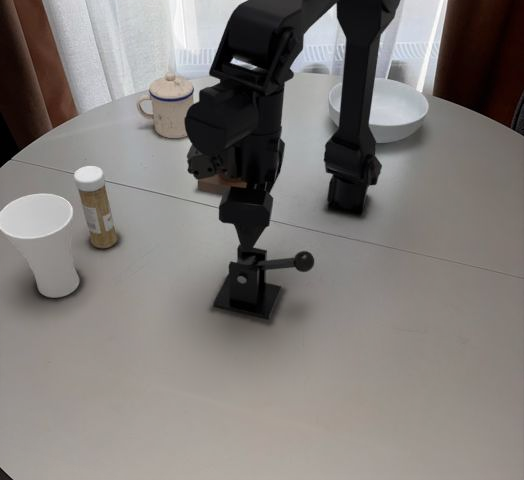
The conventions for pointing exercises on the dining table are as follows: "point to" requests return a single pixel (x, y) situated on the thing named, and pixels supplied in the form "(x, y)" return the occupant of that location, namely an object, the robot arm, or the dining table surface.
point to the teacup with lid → (169, 104)
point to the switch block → (219, 184)
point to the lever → (281, 262)
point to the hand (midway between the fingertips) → (251, 231)
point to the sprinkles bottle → (96, 206)
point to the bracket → (248, 288)
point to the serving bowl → (388, 109)
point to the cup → (43, 240)
